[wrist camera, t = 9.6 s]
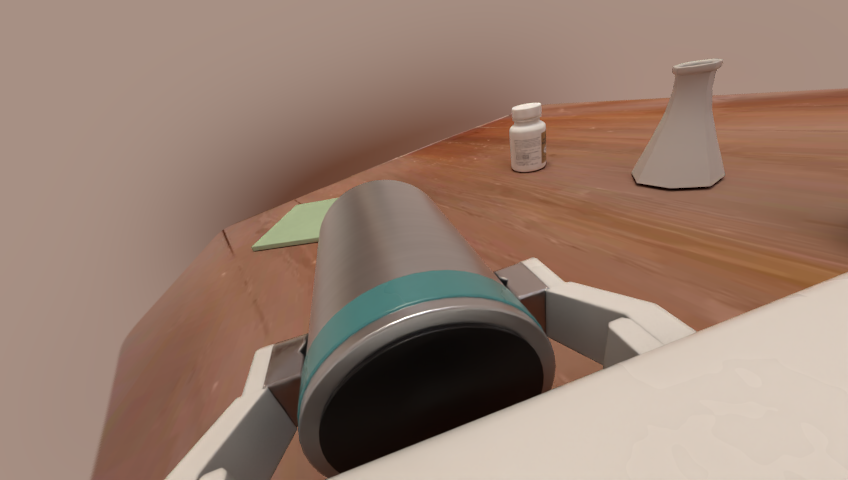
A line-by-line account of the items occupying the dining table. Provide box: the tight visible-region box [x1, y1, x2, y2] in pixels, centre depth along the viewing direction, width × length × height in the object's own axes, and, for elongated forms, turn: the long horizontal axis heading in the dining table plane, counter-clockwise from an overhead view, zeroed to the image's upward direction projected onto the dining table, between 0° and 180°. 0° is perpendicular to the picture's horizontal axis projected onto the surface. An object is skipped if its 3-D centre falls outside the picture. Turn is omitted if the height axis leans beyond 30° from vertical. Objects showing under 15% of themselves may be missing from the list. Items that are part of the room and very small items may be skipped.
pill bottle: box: [509, 103, 546, 172], centre depth 39 cm, size 4×4×8 cm
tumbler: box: [297, 180, 556, 478], centre depth 11 cm, size 9×6×6 cm
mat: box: [251, 198, 338, 251], centre depth 40 cm, size 12×12×1 cm
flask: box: [632, 59, 725, 188], centre depth 28 cm, size 7×7×10 cm
